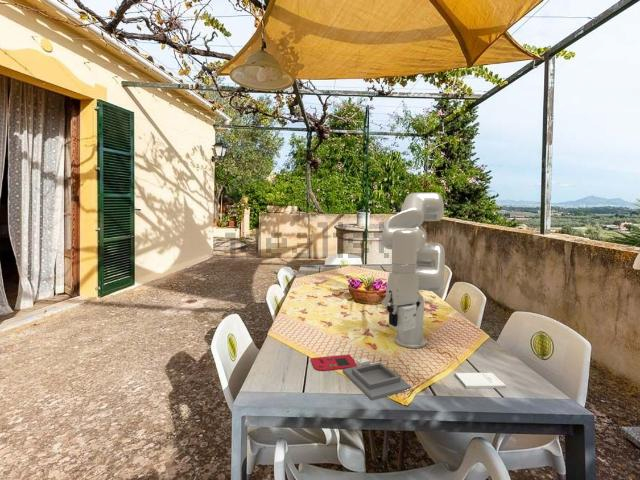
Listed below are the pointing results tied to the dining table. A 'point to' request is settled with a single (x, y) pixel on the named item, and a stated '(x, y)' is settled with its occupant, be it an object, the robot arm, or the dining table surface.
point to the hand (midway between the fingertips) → (402, 323)
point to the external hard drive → (479, 380)
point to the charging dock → (375, 379)
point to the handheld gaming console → (333, 363)
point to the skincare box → (405, 317)
